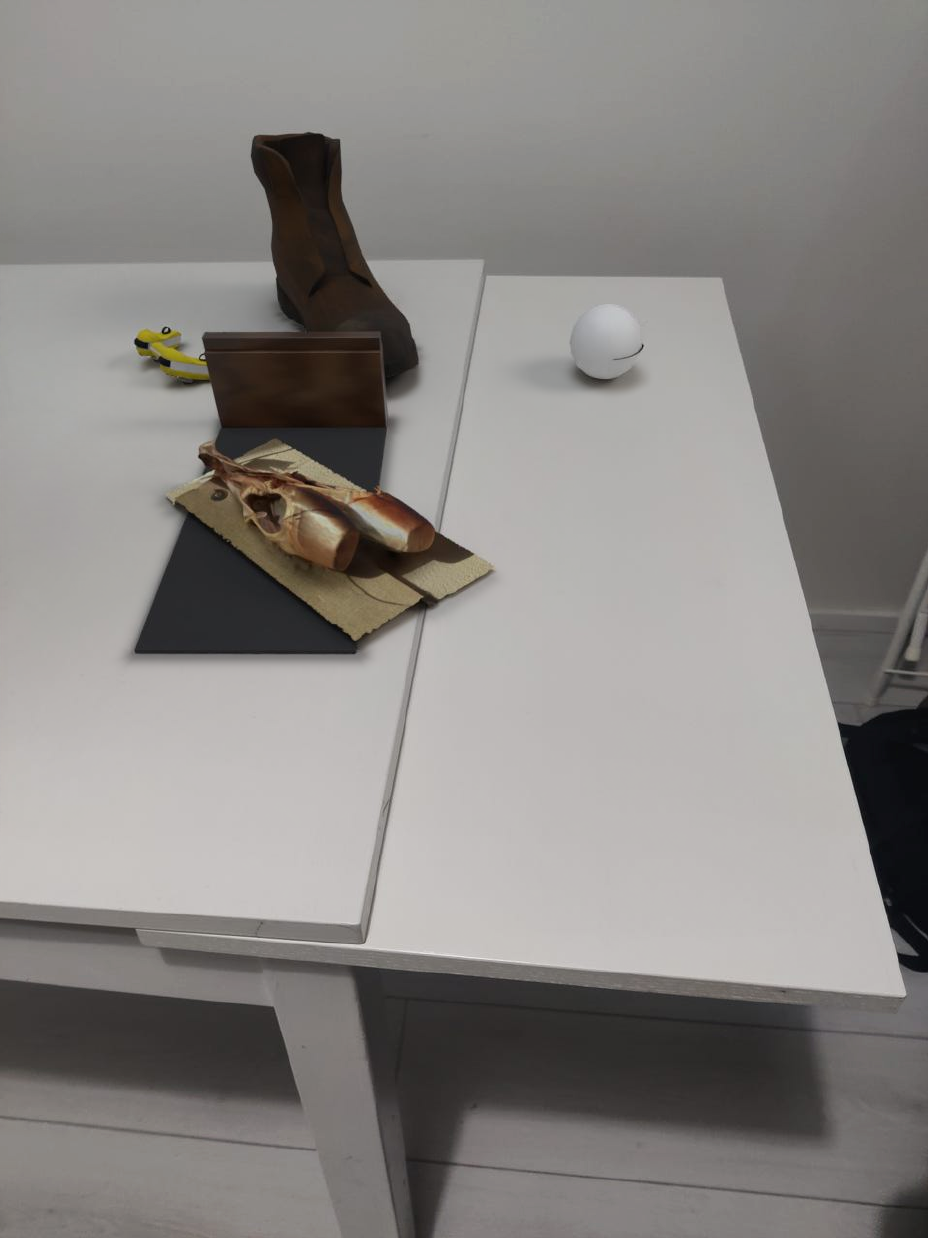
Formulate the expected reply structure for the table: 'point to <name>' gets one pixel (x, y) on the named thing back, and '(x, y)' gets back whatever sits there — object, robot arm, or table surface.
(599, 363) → the white ovoid
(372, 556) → the ballet pointe shoes
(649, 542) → the table surface
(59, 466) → the table surface
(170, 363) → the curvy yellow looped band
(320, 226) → the boot
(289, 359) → the brown wooden panel
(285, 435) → the black display mat
